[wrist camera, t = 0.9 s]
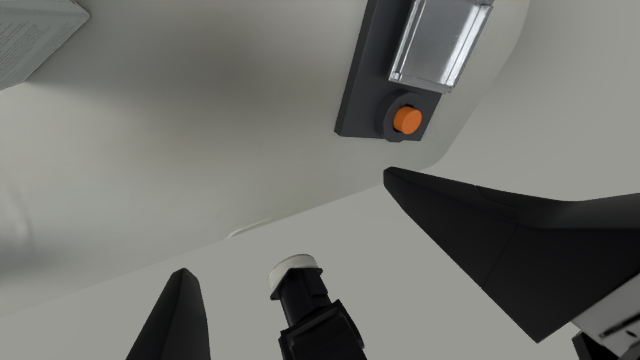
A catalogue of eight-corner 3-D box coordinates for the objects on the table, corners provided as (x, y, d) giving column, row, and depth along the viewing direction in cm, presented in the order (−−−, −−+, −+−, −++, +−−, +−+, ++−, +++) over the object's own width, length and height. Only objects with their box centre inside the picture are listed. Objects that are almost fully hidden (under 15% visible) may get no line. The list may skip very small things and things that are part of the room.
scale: (412, 137, 31) (429, 146, 29) (333, 131, 25) (347, 142, 23) (471, 5, 24) (499, 3, 22) (380, -49, 18) (408, -59, 16)
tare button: (405, 130, 26) (415, 135, 25) (388, 128, 25) (398, 133, 24) (414, 107, 25) (425, 111, 24) (398, 104, 23) (408, 108, 22)
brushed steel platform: (442, 93, 25) (452, 95, 24) (385, 79, 21) (394, 82, 20) (487, -3, 21) (500, -4, 20) (427, -44, 17) (440, -47, 16)
